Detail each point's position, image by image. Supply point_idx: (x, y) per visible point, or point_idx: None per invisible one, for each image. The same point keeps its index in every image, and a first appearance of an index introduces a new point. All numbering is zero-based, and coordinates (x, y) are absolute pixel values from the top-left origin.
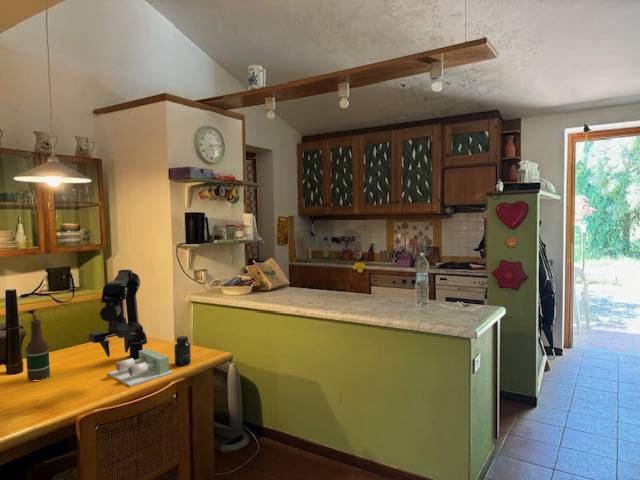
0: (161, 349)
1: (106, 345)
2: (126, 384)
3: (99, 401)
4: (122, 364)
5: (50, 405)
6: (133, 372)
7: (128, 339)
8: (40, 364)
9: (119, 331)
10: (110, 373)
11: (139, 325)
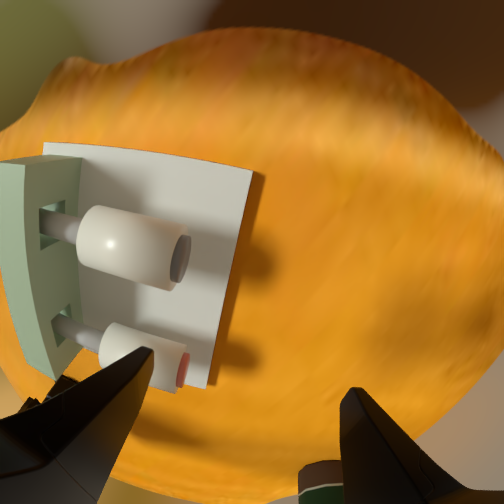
0: (18, 363)
1: (449, 490)
2: (242, 215)
3: (434, 170)
4: (164, 359)
5: (479, 308)
6: (181, 224)
7: (44, 468)
8: (337, 495)
9: None
10: (204, 377)
11: None
